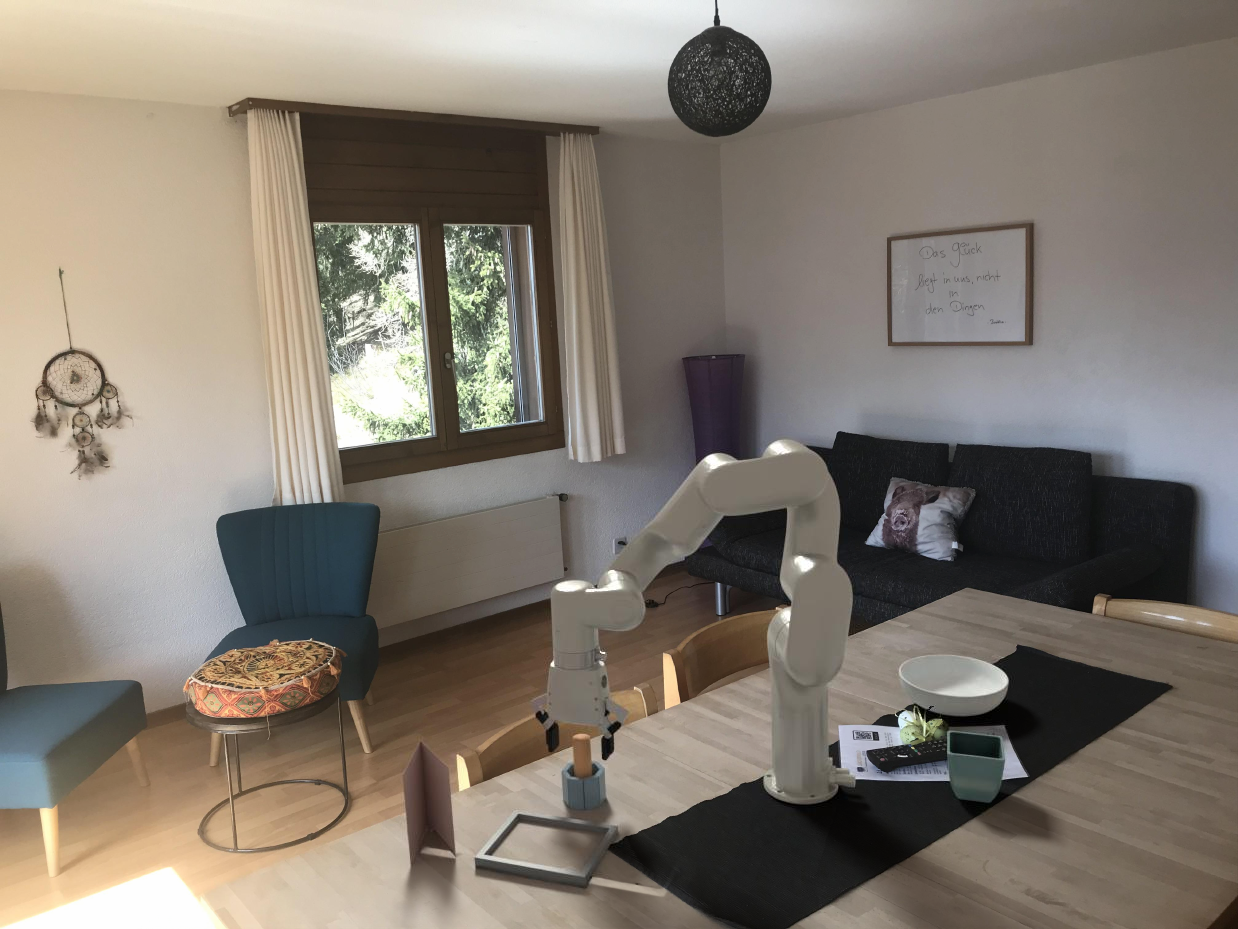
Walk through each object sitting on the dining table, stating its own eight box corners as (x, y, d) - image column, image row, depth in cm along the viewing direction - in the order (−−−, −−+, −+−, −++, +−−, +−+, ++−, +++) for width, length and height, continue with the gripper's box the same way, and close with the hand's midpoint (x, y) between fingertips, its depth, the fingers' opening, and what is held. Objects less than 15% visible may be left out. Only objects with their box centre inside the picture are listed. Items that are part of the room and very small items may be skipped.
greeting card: (422, 825, 156) (415, 740, 153) (467, 824, 156) (460, 739, 153) (405, 866, 145) (396, 775, 142) (453, 865, 144) (445, 774, 142)
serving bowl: (893, 721, 186) (893, 688, 184) (904, 680, 205) (904, 650, 204) (1007, 735, 178) (1008, 700, 177) (1007, 691, 197) (1008, 660, 196)
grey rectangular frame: (618, 836, 150) (617, 826, 150) (585, 888, 137) (584, 877, 137) (516, 819, 156) (515, 809, 156) (475, 868, 143) (474, 857, 143)
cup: (610, 795, 162) (608, 763, 161) (596, 816, 156) (594, 782, 155) (574, 790, 165) (572, 758, 164) (558, 810, 158) (556, 777, 157)
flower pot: (1001, 784, 160) (1002, 735, 159) (1004, 811, 152) (1005, 759, 150) (946, 778, 163) (947, 729, 162) (946, 804, 155) (947, 753, 153)
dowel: (596, 795, 161) (592, 735, 159) (589, 804, 158) (586, 743, 156) (579, 792, 162) (576, 733, 160) (573, 801, 159) (569, 740, 158)
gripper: (633, 653, 156) (636, 749, 159) (538, 643, 162) (542, 736, 165) (617, 670, 149) (621, 770, 152) (518, 659, 155) (524, 756, 158)
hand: (580, 752), depth 159 cm, fingers open, 9 cm apart
